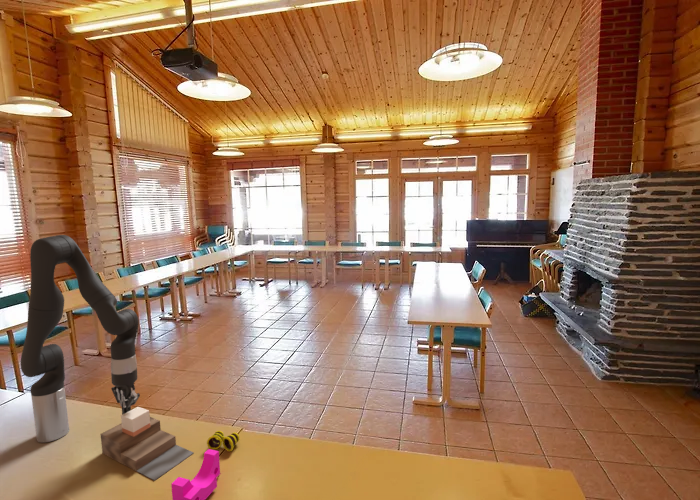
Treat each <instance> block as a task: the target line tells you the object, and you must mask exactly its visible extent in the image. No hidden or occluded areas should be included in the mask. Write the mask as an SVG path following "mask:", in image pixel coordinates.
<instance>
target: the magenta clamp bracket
mask: <svg viewBox="0 0 700 500" xmlns="http://www.w3.org/2000/svg"><path fill="white" fill-rule="evenodd" d="M220 464H221V463H220V451H219V450H217V449H210V448H207V450H206V451H205V452H204V453H203V459H202V463H201V465H200V468H199V471H197V472H196V475H195V477H193V479H191V480H190V479H189V478H185V477H184V478H183V477H180V476H178V477H177V478H176V479H174V480H173V481H172V483H171V486H170V487H171V499H172V500H206V499H207V498H208V497H209V496H210V495H211V494H212V493H213V492H214V490H215V489H217V488H218V480H217V478H218V477H219V475H221V467H220V466H221V465H220Z"/></svg>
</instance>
